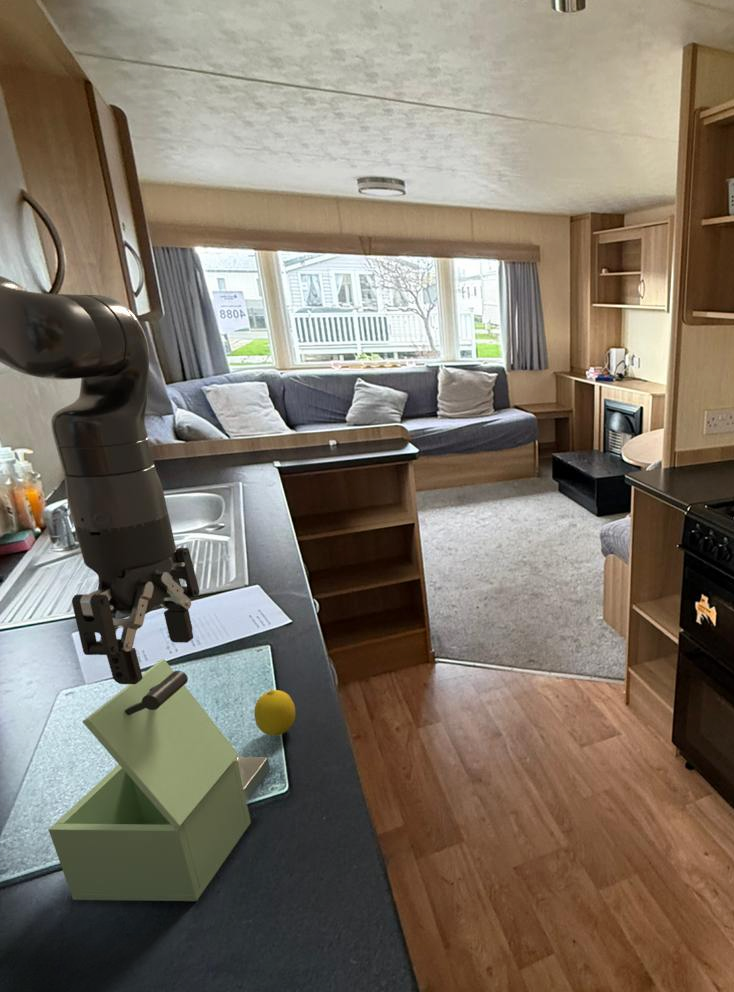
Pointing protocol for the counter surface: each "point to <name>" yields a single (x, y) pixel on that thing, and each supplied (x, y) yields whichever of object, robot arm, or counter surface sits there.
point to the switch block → (252, 773)
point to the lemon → (274, 712)
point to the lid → (163, 741)
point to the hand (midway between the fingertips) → (157, 660)
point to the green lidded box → (147, 841)
